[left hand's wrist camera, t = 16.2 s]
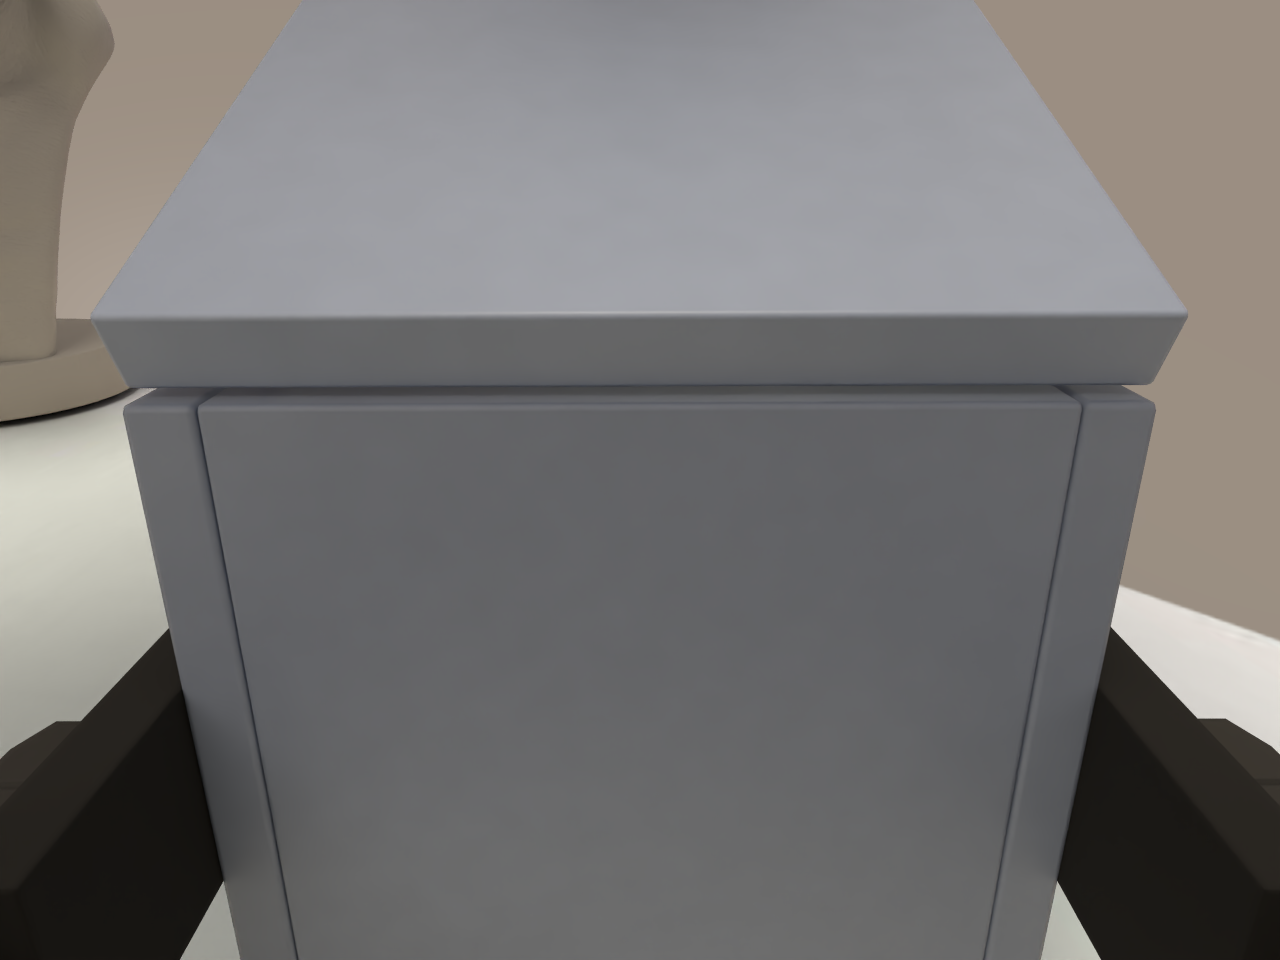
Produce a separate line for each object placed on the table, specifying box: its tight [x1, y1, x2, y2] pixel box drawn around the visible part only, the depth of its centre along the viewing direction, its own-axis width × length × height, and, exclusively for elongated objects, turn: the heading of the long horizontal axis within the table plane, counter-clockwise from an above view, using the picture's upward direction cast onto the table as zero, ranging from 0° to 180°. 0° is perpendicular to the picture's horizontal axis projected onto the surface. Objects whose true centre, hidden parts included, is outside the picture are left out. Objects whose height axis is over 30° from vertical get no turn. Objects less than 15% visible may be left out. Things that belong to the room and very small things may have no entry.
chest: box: [123, 385, 1156, 960], centre depth 18 cm, size 15×10×11 cm, turn 0°
